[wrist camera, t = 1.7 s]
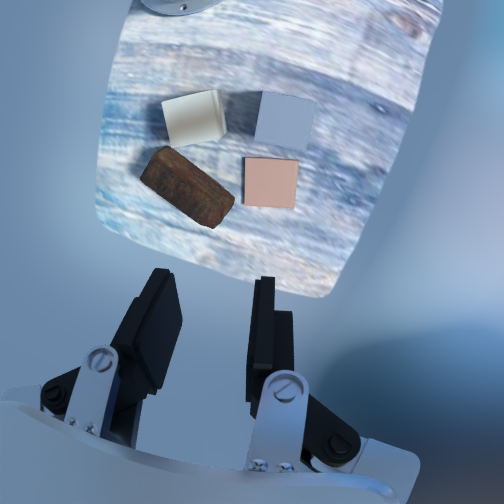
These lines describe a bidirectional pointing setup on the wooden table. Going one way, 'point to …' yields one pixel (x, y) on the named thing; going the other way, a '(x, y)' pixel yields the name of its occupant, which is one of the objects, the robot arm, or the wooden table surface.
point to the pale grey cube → (195, 118)
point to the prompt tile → (270, 182)
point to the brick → (187, 187)
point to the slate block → (284, 120)
